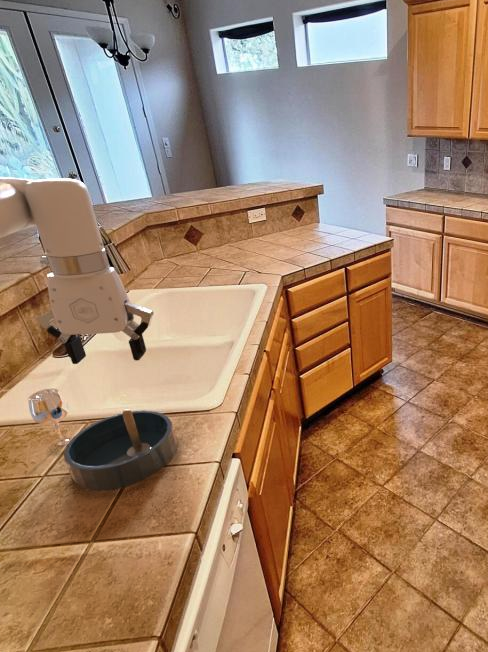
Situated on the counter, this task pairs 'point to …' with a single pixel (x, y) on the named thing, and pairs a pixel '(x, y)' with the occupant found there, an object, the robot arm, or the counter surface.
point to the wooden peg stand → (133, 436)
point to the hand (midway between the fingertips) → (110, 358)
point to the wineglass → (49, 409)
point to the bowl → (119, 451)
